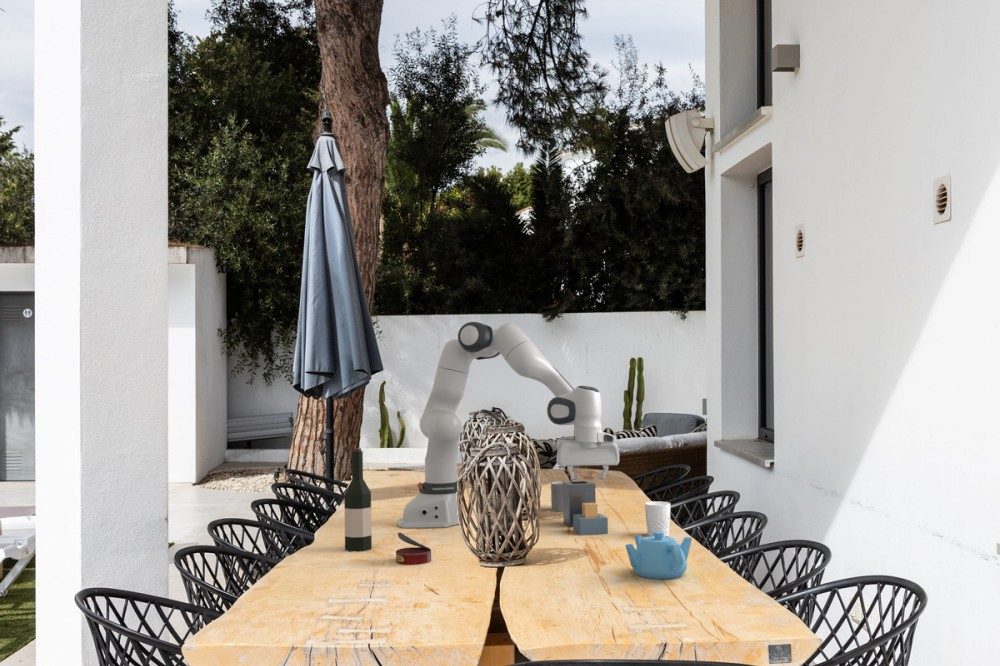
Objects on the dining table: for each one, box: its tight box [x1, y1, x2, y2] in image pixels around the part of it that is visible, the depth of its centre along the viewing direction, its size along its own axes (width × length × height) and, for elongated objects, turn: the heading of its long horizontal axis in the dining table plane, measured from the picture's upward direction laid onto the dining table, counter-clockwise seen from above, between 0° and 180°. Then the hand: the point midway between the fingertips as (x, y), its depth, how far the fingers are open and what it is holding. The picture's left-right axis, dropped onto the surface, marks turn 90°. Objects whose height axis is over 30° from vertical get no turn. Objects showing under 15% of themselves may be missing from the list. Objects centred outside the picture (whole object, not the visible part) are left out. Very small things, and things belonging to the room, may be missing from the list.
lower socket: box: [572, 512, 609, 536], centre depth 298 cm, size 9×9×5 cm
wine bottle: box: [343, 447, 373, 552], centre depth 278 cm, size 8×8×30 cm
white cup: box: [644, 500, 671, 537], centre depth 290 cm, size 8×8×10 cm
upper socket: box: [562, 480, 597, 528], centre depth 312 cm, size 9×9×14 cm
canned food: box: [395, 532, 432, 566], centre depth 260 cm, size 11×10×10 cm
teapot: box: [625, 532, 693, 580], centre depth 239 cm, size 15×15×11 cm
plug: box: [582, 503, 598, 518], centre depth 298 cm, size 4×4×7 cm
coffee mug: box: [550, 480, 564, 513], centre depth 342 cm, size 13×10×10 cm
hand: (587, 479), depth 298 cm, fingers open, 8 cm apart
